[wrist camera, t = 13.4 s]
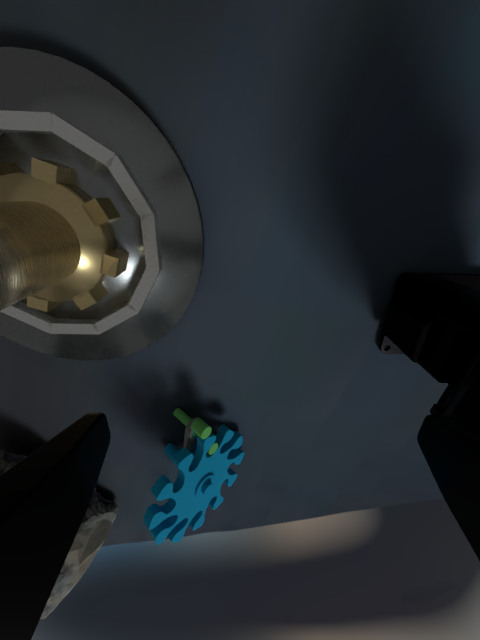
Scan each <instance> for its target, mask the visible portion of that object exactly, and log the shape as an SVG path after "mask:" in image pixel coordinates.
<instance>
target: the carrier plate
mask: <svg viewBox="0 0 480 640" xmlns="http://www.w3.org/2000/svg"><path fill="white" fill-rule="evenodd" d="M32 157H34V158H40V159H45V160H50V161H55V162H57V163H60V164H63V165H65V166H68V167H71V168H73V169H76V173H75V184H74V185H76V186H78V187H79V188H81V189H82V190H84V191H85V192H86V193H88V194H89V195H90V196H91V197H92V198H93V199H94V198H110V200H111V201H112V203H113V204H114V206H115V208H116V209H117V211H118V212H119V214H120V216H121V218H119V219H117V220H115V221H114V222H112V223H111V226H112V228H113V231H114V235H115V239H116V249H119V250H122V251H125V252H128V253H129V257H128V262H127V268H126V271H124V272H123V273H121V274H120V275H118V276H117V277H116V278H114V277H111V276H108V277H107V278H106V279H105V280H104V281H103V282H102V284H103V286H104V287H105V288H106V290H107V291H108V294H107V295H106V296H105V297H103V298H102V299H101V300H99V301H98V302H97V303H95V304H93V305H91V306H89V307H87V308H85V309H83V310H80V308H79V307H78V306H77V305H76V303H75V302H74V301H73V300H69V301H64V302H63V303H61V304H59V305H58V306H56V307H55V308H53V309H51V310H50V311H48V312H45V311H41V310H38V309H34V308H31V307H27V298H25V299H23V300H21V301H19V302H17V303H15V304H13V305H11V306H9V307H7V308H5V309H3V310H1V311H0V334H1V335H3V336H4V337H6V338H8V339H10V340H12V341H14V342H16V343H18V344H20V345H23V346H25V347H28V348H30V349H33V350H36V351H38V352H41V353H45V354H49V355H52V356H56V357H62V358H68V359H76V360H105V359H111V358H118V357H121V356H125V355H129V354H132V353H134V352H137V351H139V350H141V349H144V348H146V347H148V346H149V345H151V344H153V343H154V342H156V341H158V340H159V339H160V338H161V337H163V336H164V335H165V334H166V333H168V332H169V331H170V330H171V329H172V328H173V326H174V325H175V324H176V323H177V322H178V321H179V320H180V318H181V317H182V315H183V314H184V312H185V311H186V309H187V308H188V306H189V304H190V302H191V300H192V298H193V296H194V293H195V291H196V288H197V285H198V282H199V279H200V276H201V271H202V265H203V259H204V231H203V221H202V216H201V212H200V207H199V202H198V199H197V196H196V194H195V191H194V188H193V185H192V182H191V180H190V178H189V176H188V174H187V171H186V169H185V167H184V165H183V163H182V161H181V160H180V158H179V156H178V155H177V153H176V152H175V150H174V148H173V147H172V145H171V144H170V142H169V141H168V140H167V138H166V137H165V136H164V135H163V133H162V132H161V131H160V129H159V128H158V127H157V126H156V124H155V123H154V122H153V121H152V120H151V119H150V118H149V117H148V116H147V115H146V114H145V113H144V112H143V111H142V110H141V109H140V108H139V107H138V106H137V105H136V104H135V103H134V102H133V101H131V100H130V99H129V98H128V97H127V96H125V95H124V94H123V93H122V92H120V91H119V90H118V89H117V88H115V87H114V86H113V85H112V84H110V83H109V82H107V81H106V80H104V79H102V78H101V77H99V76H97V75H96V74H94V73H93V72H91V71H89V70H88V69H86V68H84V67H82V66H79V65H77V64H75V63H73V62H70V61H68V60H66V59H64V58H61V57H58V56H55V55H51V54H48V53H44V52H41V51H38V50H32V49H24V48H17V47H0V161H4V162H11V163H16V165H17V166H18V168H19V169H20V170H21V172H22V173H26V174H31V160H32Z"/></svg>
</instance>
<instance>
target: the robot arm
mask: <svg viewBox="0 0 480 640" xmlns="http://www.w3.org/2000/svg"><path fill="white" fill-rule="evenodd" d="M406 278H408V280H407V281H406V282H404V280H405V279H406ZM385 346H387V347H386V348H384V347H385ZM378 348H379V350H380V351H381V352H382V353H385V354H405V355H406V356H407V357H408V358H409V359H411V360H412V361H413V362H417V363H418V364H419V365H420V366H422V367H423V368H424V369H425V370H426V371H427V372H428V373H429V374H430V375H431V376H432V377H434V378H435V379H436V380H437V381H438V382H440V383H448V384H449V385H448V386H447V388H446V389H445V391H444V393H443V394H442V396H441V397H440V399H439V401H438V402H437V404H434V405H433V407H432V408H431V410H430V413H431V415H427V416H426V417H425V419H424V421H423V423H422V426H421V428H420V431H419V433H418V437H417V439H418V444H419V446H420V448H421V450H422V453H423V455H424V457H425V459H426V461H427V463H428V465H429V467H430V470H431V472H432V474H433V476H434V478H435V480H436V482H437V485H438V487H439V489H440V491H441V493H442V495H443V497H444V499H445V501H446V503H447V505H448V506H449V508H450V510H451V512H452V514H453V515H454V517H455V519H456V520H457V522H458V524H459V526H460V528H461V529H462V531H463V533H464V535H465V536H466V538H467V540H468V541H469V543H470V545H471V547H472V548H473V550H474V552H475V554H476V555H477V557H478V559H479V561H480V274H451V273H411V272H406V273H402V274H401V275H400V276H399V277H398V280H397V283H396V286H395V290H394V293H393V297H392V300H391V302H390V303H389V307H388V310H387V314H386V317H385V321H384V324H383V328H382V335H381V339H380V342H379V346H378ZM109 443H110V431H109V426H108V422H107V418H106V415H105V414H104V413H88V414H86V415H84V416H83V417H82V418H80V419H79V420H77V421H76V422H75V423H73V424H72V425H70V426H69V427H68V428H66V429H65V430H63V431H62V432H61V433H59V434H58V435H56V436H55V437H54V438H52V439H51V440H49V441H48V442H47V443H45V444H44V445H42V446H41V447H40V448H38V449H37V450H35V451H34V452H33V453H31V454H30V455H28V456H27V457H26V458H24V459H23V460H21V461H20V462H19V463H17V464H16V465H14V466H13V467H12V468H10V469H9V470H7V471H6V472H4V473H3V474H2V475H0V640H31V638H32V636H33V634H34V632H35V629H36V627H37V625H38V622H39V620H40V618H41V615H42V613H43V611H44V608H45V606H46V604H47V602H48V599H49V597H50V595H51V592H52V590H53V588H54V585H55V583H56V581H57V578H58V576H59V574H60V572H61V569H62V567H63V565H64V562H65V560H66V558H67V555H68V553H69V551H70V548H71V546H72V544H73V542H74V539H75V537H76V535H77V532H78V530H79V528H80V525H81V523H82V521H83V518H84V516H85V514H86V511H87V509H88V506H89V504H90V501H91V499H92V496H93V493H94V490H95V487H96V484H97V481H98V477H99V474H100V471H101V468H102V465H103V462H104V459H105V456H106V453H107V450H108V447H109Z"/></svg>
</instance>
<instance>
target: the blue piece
mask: <svg viewBox="0 0 480 640" xmlns="http://www.w3.org/2000/svg"><path fill="white" fill-rule="evenodd" d="M173 415H174V416H175V417H176V418H178V419H179V420H180V421H181V422H182V423H183V424H184V425H185V426H186V428H185V436H184V445H183V448H182V449H181V450H179V449H178V448H177V447H176V446H175V445H174V444H173V443H169V444H167V445H166V447H165V449H164V452H165V453H166V454H167V455H168V456H169V457H170V458H171V460H172V461H173V463H174V464H175V465H176V466H177V467H178V477H177V479H176V481H175V482H174V483H173V484H172V483H171V482H170V480H169V479H168V478H167V477H166V476H161V477H160V478H159V479H158V480H157V482H156V483H155V484H154V486H153V487H152V489H151V492H152V493H153V495H154V496H155V497H156V499H157V500H158V501H161V500H164V499H167V498H169V500H168V501H167V503H165V504H164V505H163V506H159V505H158V504H152V505H151V506H149V507H148V508H147V510H146V513H145V515H144V520H143V521H144V523H145V524H146V526H147V527H148V529H149V530H150V533H151V535H152V537H153V538H154V540H155V541H156V543H157V544H158V545H159V544H161V543H162V542H163V541H164V540H165V538H166V537H167V536H168V537H169V539H170V540H171V541H172V542H173V543H176V542H179V541H180V540H181V539H182V537H183V535H184V533H185V530H186V528H187V526H188V525H189V526H190V527H191V529H192V530H196V529H197V528H199V527H200V526H202V524H203V523H204V520H205V518H204V516H205V511H206V509H207V506H208V504H209V506H210V507H211V508H212V509H213V510H215V509H216V508H217V507H218V506H219V505H220V504H221V503H222V502H223V497H222V496H221V495H220V488H221V485H222V483H223V482H224V483H225V484H226V485H227V486H229V487H230V486H231V485H232V484H233V483H234V481H235V479H236V478H237V474H236V473H235V472H234V471H233V470H232V469H228V467H229V465H230V464H231V463H233V462H234V463H235V464H236V465H239V464H240V463H241V461H242V459H243V456H244V452H243V451H242V450H241V449H239V447H240V446H241V445H242V442H243V438H242V435H240V434H239V433H238V432H236V431H234V432H233V431H232V430H230V429H229V428H228V427H227V426H225V425H221V426H220V428H219V429H218V432H217V434H216V435H214V434H213V433H212V432H211V431H212V428H211V427H210V426H209V425H208V424H206V423H205V422H204V421H203V420H202V419H200V418H199V417H195V418H193V419H191V418H190V417H189V416H188V415H187V414H186V413H184V412H183V411H182V410H181V409H180V408H177V409H175V411H174V413H173ZM232 449H233V450H232ZM231 450H232V451H231ZM230 451H231V452H230Z"/></svg>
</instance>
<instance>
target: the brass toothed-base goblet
mask: <svg viewBox="0 0 480 640" xmlns="http://www.w3.org/2000/svg"><path fill="white" fill-rule="evenodd" d="M75 173H76V169H73V168H71V167H68V166H65V165H63V164H60V163H57V162H55V161H50V160H45V159H40V158H34V157H32V160H31V174H26V173H22V172H21V170H20V169H19V168H18V166H17V165H16V163H11V162H4V161H0V311H1V310H3V309H5V308H7V307H9V306H11V305H13V304H15V303H17V302H19V301H21V300H23V299H25V298H27V307H31V308H34V309H38V310H41V311H45V312H48V311H50V310H51V309H53V308H55V307H56V306H58V305H59V304H61V303H63V302H64V301H69V300H73V301H74V302H75V303H76V305H77V306H78V307H79V308H80V310H83V309H85V308H87V307H89V306H91V305H93V304H95V303H97V302H98V301H99V300H101V299H102V298H103V297H105V296H106V295H107V294H108V291H107V290H106V288H105V287H104V286H103V284H102V282H103V281H104V280H105V279H106V278H107V277H108V276H111V277H114V278H116V277H117V276H118V275H120V274H121V273H123V272H124V271H126V268H127V262H128V257H129V253H128V252H125V251H122V250H119V249H116V239H115V235H114V231H113V228H112V226H111V223H112V222H114V221H115V220H117V219H119V218H121V216H120V214H119V212H118V211H117V209H116V208H115V206H114V204H113V203H112V201H111V200H110V198H94V199H93V198H92V197H91V196H90V195H89V194H88V193H86V192H85V191H84V190H82V189H81V188H79V187H78V186H76V185H74V184H75Z"/></svg>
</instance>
